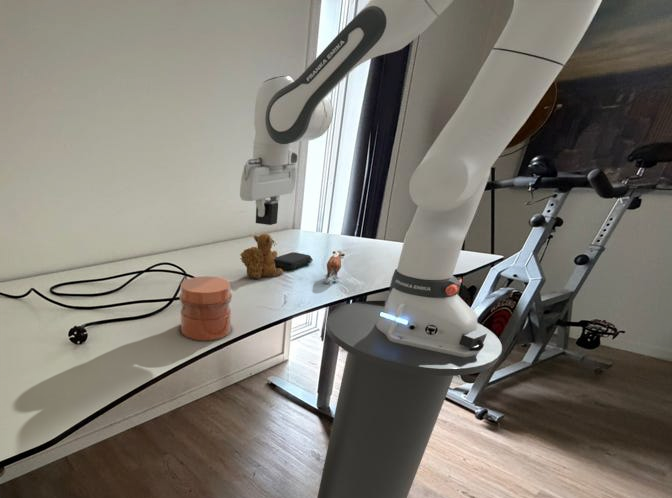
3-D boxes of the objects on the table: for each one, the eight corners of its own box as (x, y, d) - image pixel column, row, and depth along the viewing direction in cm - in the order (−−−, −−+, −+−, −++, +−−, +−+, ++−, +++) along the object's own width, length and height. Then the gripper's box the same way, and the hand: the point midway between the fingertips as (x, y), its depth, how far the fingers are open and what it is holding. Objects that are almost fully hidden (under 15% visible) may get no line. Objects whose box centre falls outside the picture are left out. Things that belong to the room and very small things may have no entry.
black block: (277, 223, 103) (278, 200, 100) (270, 225, 101) (272, 201, 98) (261, 221, 106) (263, 199, 103) (255, 223, 104) (256, 200, 101)
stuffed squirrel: (284, 273, 128) (288, 233, 122) (258, 283, 120) (261, 241, 114) (261, 267, 135) (263, 229, 128) (234, 277, 127) (236, 236, 120)
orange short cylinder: (241, 328, 92) (242, 283, 86) (207, 346, 85) (206, 297, 79) (204, 315, 100) (204, 272, 94) (170, 330, 92) (167, 285, 87)
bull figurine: (342, 273, 127) (347, 249, 123) (335, 286, 116) (340, 259, 112) (329, 272, 128) (333, 248, 124) (321, 284, 118) (325, 258, 114)
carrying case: (292, 272, 129) (316, 263, 137) (293, 264, 127) (317, 255, 136) (267, 266, 136) (291, 258, 144) (268, 258, 134) (292, 250, 143)
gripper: (255, 159, 87) (253, 222, 94) (302, 155, 99) (297, 211, 106) (234, 159, 91) (233, 219, 98) (281, 155, 103) (277, 209, 110)
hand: (266, 215), depth 102 cm, fingers closed on black block, 3 cm apart
